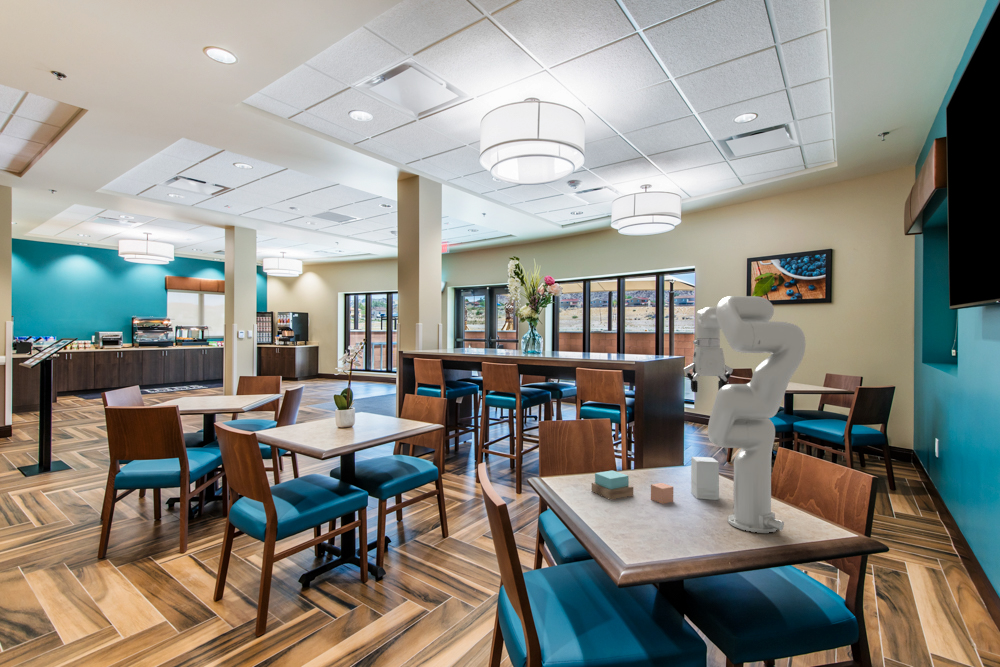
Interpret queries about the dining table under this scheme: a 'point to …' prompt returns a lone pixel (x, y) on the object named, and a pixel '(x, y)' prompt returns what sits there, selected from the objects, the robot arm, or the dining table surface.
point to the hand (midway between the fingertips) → (708, 392)
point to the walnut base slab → (612, 491)
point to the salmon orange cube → (662, 493)
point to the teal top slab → (611, 479)
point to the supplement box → (705, 478)
